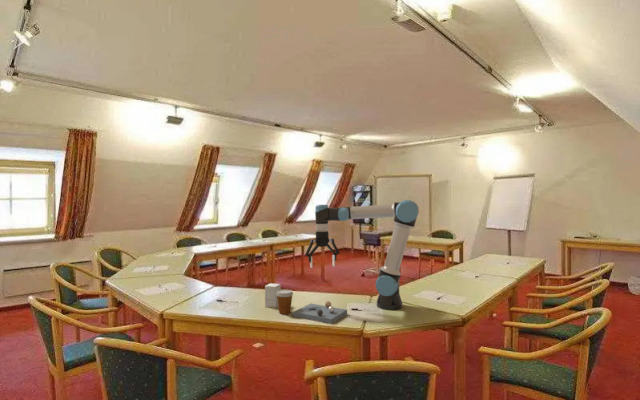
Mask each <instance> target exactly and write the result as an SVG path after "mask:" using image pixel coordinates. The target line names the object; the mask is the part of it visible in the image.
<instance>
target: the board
mask: <svg viewBox="0 0 640 400" xmlns="http://www.w3.org/2000/svg"><path fill="white" fill-rule="evenodd" d="M334 309H335V310H334V312H333V313H330V312H329V311H328V308H327V307H326V306H325V305H322V304H317V303H308V304H306V305H304V306H303V307H300V308H299V309H296V310H294V311H293V312H292V315H293V317H295V318H300V319H306V320H310V321H315V322H320V323H325V324H331V325H332V324H333V323H335V322H337V321H339V319H342V318H343V317H345V316H347V315H348V309H345V308H339V307H334ZM318 310H322V311H323V314H322V315H321V316H319V315H318V314H317V311H318Z"/></svg>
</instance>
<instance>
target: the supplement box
mask: <svg viewBox="0 0 640 400" xmlns="http://www.w3.org/2000/svg"><path fill="white" fill-rule="evenodd" d="M281 287H282V285H281V283H271V282H270V283H268V284H266V285H265V286H264V302H265V304H264V305H265V308H275V309H276V308H277V307H278V299H277V295H276V293H277V291H279V290H282V289H281ZM278 308H279V307H278Z"/></svg>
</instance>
